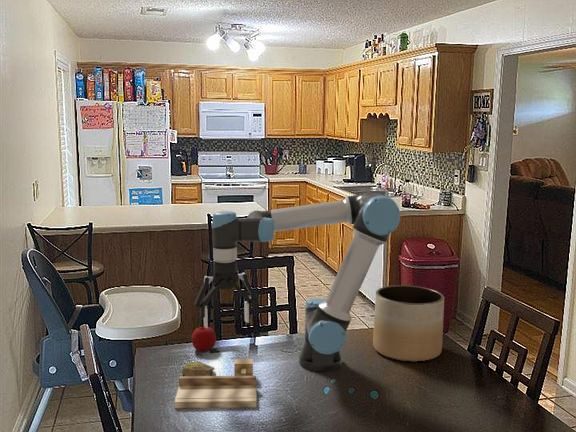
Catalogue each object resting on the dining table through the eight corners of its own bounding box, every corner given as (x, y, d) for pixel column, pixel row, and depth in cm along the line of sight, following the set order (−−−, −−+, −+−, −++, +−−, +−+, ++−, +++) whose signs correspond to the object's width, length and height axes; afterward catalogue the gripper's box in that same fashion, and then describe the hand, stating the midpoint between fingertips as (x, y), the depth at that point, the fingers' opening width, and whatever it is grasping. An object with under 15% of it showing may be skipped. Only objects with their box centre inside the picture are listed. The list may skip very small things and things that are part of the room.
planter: (440, 342, 227) (443, 287, 224) (442, 367, 203) (446, 307, 199) (375, 335, 233) (377, 282, 229) (369, 359, 208) (372, 300, 205)
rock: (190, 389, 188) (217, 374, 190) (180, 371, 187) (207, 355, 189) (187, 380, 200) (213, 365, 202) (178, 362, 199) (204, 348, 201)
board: (255, 389, 183) (256, 375, 183) (256, 407, 171) (256, 392, 171) (179, 389, 182) (179, 376, 181) (174, 408, 170) (174, 393, 169)
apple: (214, 355, 210) (214, 328, 208) (189, 354, 210) (189, 328, 208) (217, 345, 219) (217, 320, 218) (193, 344, 219) (193, 319, 218)
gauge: (252, 375, 193) (252, 358, 192) (252, 387, 185) (253, 369, 184) (234, 376, 193) (234, 359, 192) (233, 387, 184) (234, 369, 183)
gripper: (259, 254, 192) (259, 316, 195) (183, 260, 183) (185, 324, 187) (266, 259, 185) (266, 323, 188) (188, 266, 176) (190, 332, 180)
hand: (226, 324), depth 187 cm, fingers open, 13 cm apart
